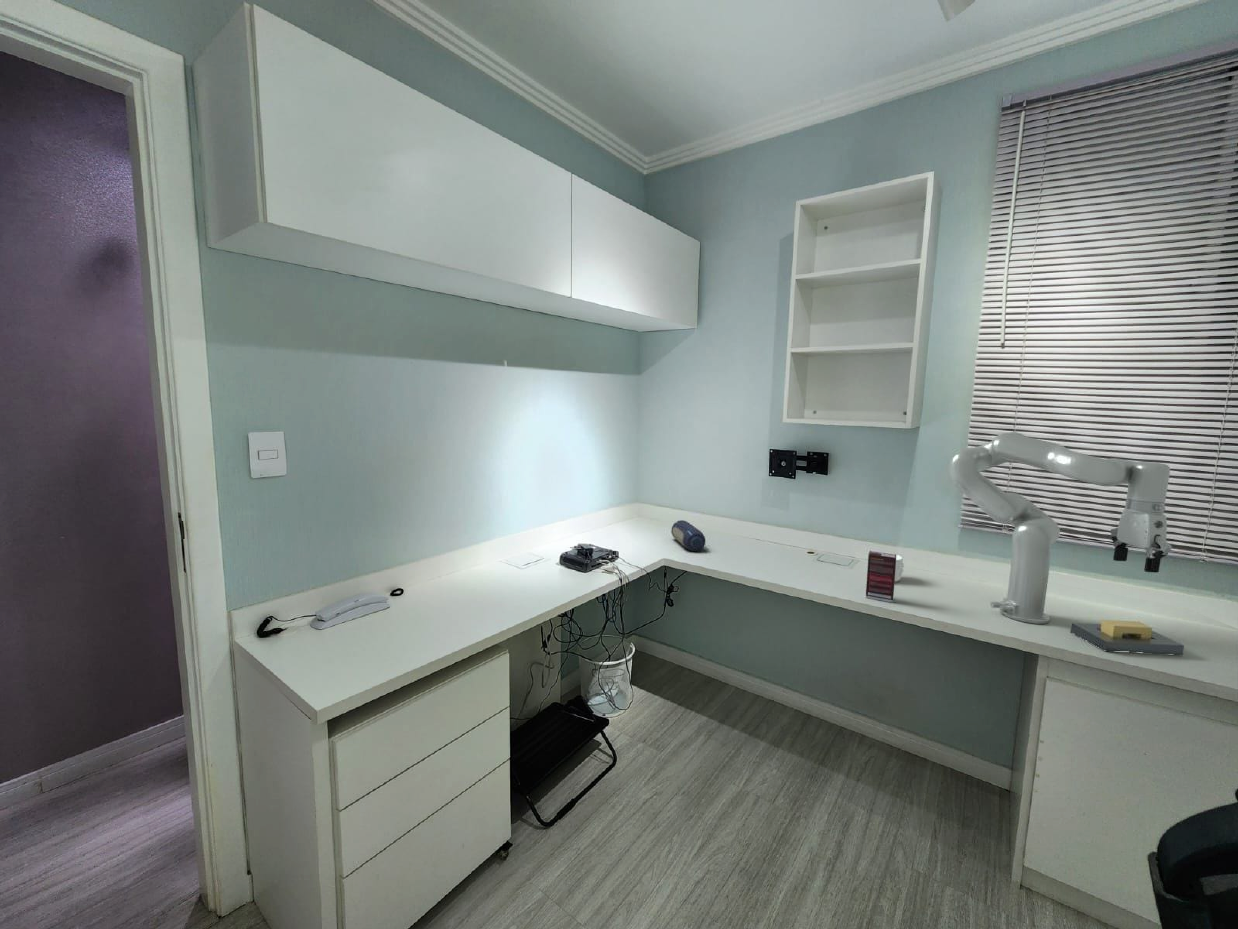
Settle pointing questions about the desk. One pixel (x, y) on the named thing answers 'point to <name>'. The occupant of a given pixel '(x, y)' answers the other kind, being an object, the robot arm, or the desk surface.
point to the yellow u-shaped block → (1126, 628)
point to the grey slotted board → (1126, 641)
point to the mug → (898, 567)
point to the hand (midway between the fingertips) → (1134, 566)
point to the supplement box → (881, 576)
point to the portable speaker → (688, 535)
